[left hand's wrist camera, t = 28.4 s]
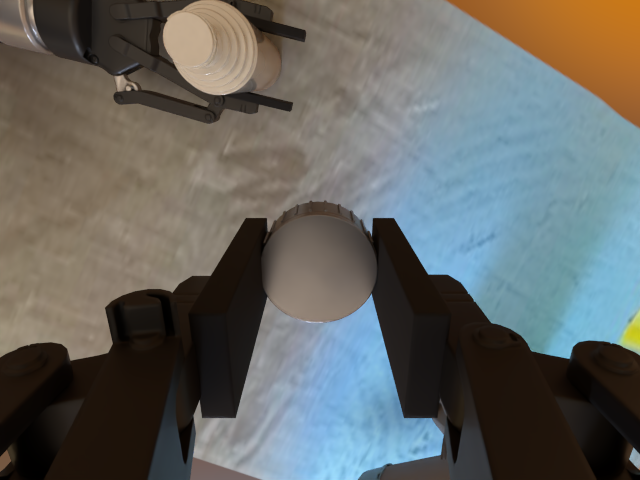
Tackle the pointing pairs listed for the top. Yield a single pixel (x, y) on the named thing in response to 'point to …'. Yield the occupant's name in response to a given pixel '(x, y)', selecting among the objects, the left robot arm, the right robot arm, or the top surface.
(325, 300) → the cap
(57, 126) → the top surface
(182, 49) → the bottle
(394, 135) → the top surface
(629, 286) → the top surface
